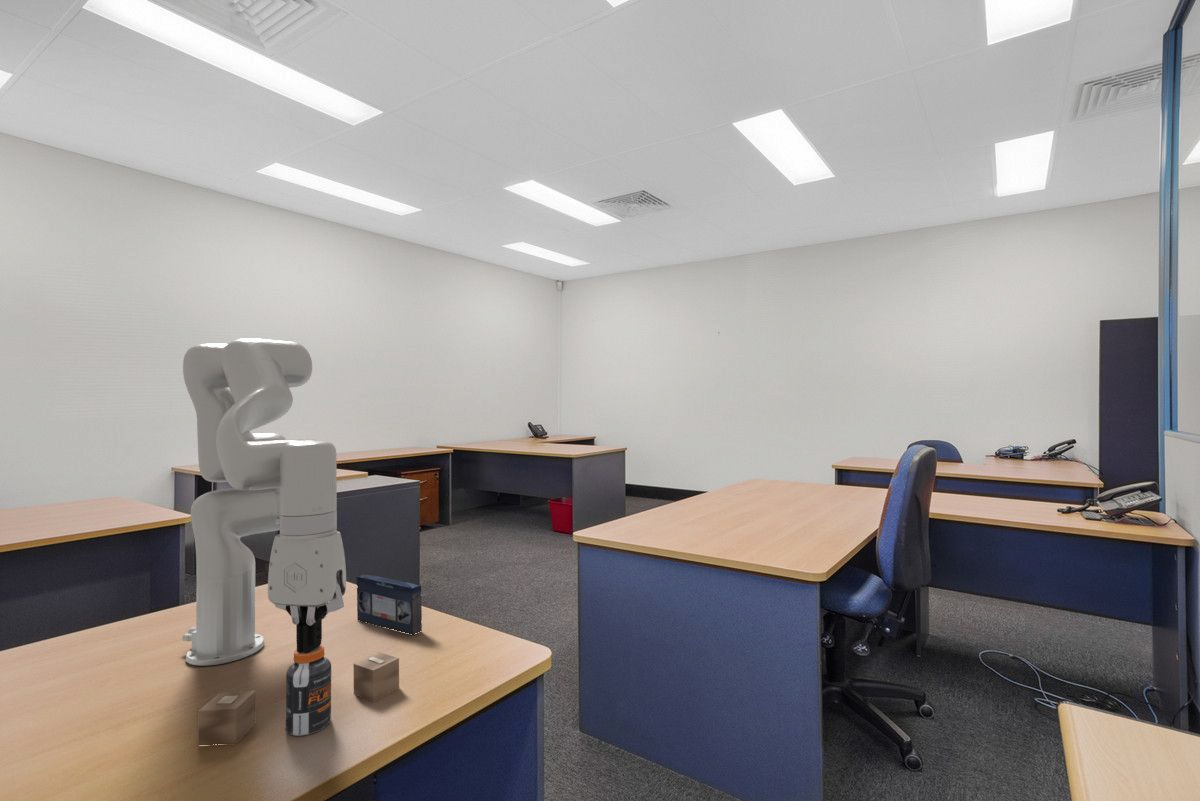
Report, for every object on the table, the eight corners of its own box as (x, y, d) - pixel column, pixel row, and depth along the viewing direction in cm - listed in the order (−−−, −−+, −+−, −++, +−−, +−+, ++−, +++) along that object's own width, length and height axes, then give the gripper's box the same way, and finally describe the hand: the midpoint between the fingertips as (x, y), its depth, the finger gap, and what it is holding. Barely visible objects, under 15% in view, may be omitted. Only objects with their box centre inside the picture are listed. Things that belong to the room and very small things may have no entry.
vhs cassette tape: (356, 620, 123) (356, 576, 123) (368, 616, 125) (367, 572, 126) (411, 637, 113) (410, 589, 113) (422, 632, 116) (422, 585, 116)
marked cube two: (353, 694, 90) (353, 662, 90) (379, 681, 95) (379, 651, 95) (373, 702, 88) (373, 669, 88) (399, 688, 92) (398, 657, 92)
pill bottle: (311, 739, 78) (311, 658, 78) (275, 735, 79) (275, 655, 79) (339, 716, 84) (339, 641, 84) (305, 712, 85) (306, 638, 85)
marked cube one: (198, 747, 76) (198, 709, 76) (220, 726, 81) (220, 691, 81) (236, 744, 77) (236, 707, 77) (255, 724, 82) (255, 689, 82)
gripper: (244, 528, 80) (244, 656, 79) (337, 530, 77) (337, 663, 76) (283, 518, 87) (283, 636, 86) (369, 520, 84) (369, 641, 84)
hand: (309, 648), depth 81 cm, fingers closed
